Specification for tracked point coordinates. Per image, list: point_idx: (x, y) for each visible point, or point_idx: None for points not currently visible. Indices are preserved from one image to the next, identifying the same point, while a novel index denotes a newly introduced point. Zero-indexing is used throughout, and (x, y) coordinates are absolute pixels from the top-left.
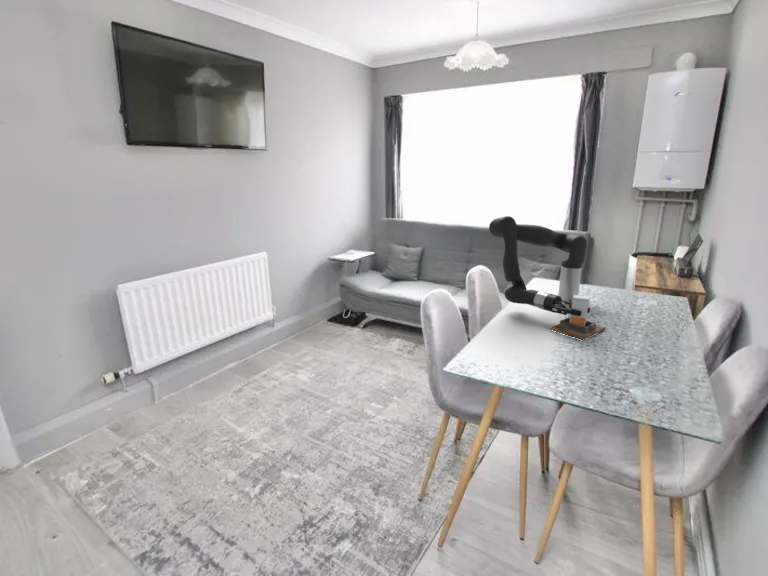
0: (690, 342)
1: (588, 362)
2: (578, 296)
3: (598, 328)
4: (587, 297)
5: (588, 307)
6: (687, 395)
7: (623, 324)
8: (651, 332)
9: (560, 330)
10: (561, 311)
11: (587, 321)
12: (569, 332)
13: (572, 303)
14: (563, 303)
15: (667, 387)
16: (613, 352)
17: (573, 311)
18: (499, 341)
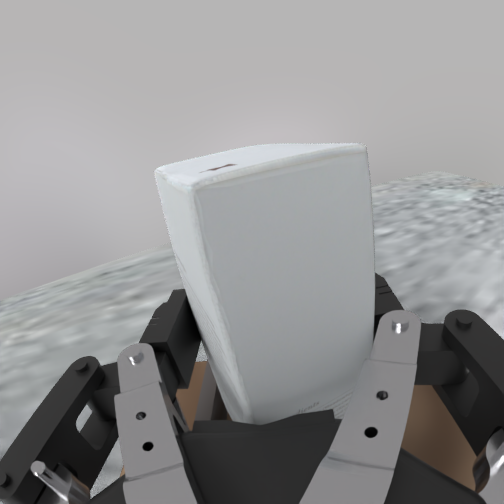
0: (135, 255)
1: (492, 247)
2: (248, 155)
3: (200, 373)
4: (204, 156)
5: (175, 293)
6: (393, 188)
7: (55, 361)
8: (102, 301)
9: (460, 443)
10: (469, 414)
11: (211, 391)
12: (425, 401)
13: (373, 250)
14: (354, 465)
15: (402, 196)
16: (376, 264)
17: (396, 300)
18: None
